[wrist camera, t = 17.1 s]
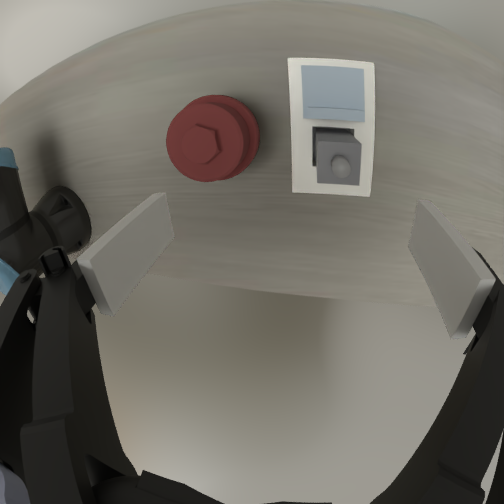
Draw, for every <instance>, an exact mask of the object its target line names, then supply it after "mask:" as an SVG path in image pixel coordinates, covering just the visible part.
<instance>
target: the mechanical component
mask: <svg viewBox="0 0 504 504" xmlns="http://www.w3.org/2000/svg"><path fill="white" fill-rule="evenodd" d="M259 142H260V133H259V127H258V123H257V121H256V119H255V117H254V115H253V114H252V112H251V111H250V110H249V109H248V107H247V106H245V105H244V104H243V103H242V102H240V101H238V100H237V99H234V98H232V97H229V96H224V95H209V96H204V97H200V98H198V99H196V100H194V101H192V102H191V103H189V104H188V105H187V106H186V107H185V108H184V109H183V110H182V111H181V112H179V113H178V114H177V115H176V116H175V118H174V119H173V120H172V122H171V124H170V126H169V128H168V132H167V138H166V145H167V151H168V154H169V157H170V159H171V161H172V163H173V164H174V166H175V167H176V168H177V169H178V170H179V171H180V172H181V173H182V174H183V175H185V176H187V177H188V178H190V179H193V180H196V181H200V182H212V181H216V180H225V179H229V178H232V177H234V176H236V175H238V174H239V173H241V172H242V171H243V170H244V169H246V168H247V166H248V165H249V164H250V163H251V162H252V160H253V159H254V157H255V155H256V153H257V150H258V148H259Z"/></svg>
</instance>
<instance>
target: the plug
mask: <svg viewBox="0 0 504 504" xmlns="http://www.w3.org/2000/svg"><path fill="white" fill-rule="evenodd" d="M315 131H316V171H317V183H323V184H341V185H355V186H359V182H360V168H361V149H362V144H361V143H360V142H359V141H358V140H357V139H356V138H355V137H354V136H353V135H352V134H350V133H349V132H348V131H347V130H346V129H334V128H315Z"/></svg>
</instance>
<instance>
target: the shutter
mask: <svg viewBox="0 0 504 504" xmlns="http://www.w3.org/2000/svg"><path fill="white" fill-rule="evenodd" d="M301 74H302V95H303V118H305V119H331V120H346V121H358V122H365V101H364V69H359V68H349V67H336V66H314V65H301Z"/></svg>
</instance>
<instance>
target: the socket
mask: <svg viewBox="0 0 504 504" xmlns="http://www.w3.org/2000/svg"><path fill="white" fill-rule="evenodd" d="M301 65H314V66H336V67H349V68H359V69H364V101H365V122H358V121H346V120H331V119H305V118H303V95H302V74H301ZM288 72H289V91H290V113H291V144H292V192H293V193H318V194H336V195H352V196H365V197H370V192H371V181H372V169H373V155H374V134H375V74H374V63H370V62H362V61H353V60H341V59H324V58H288ZM315 128H334V129H346V130H347V131H348V132H349V133H350V134H352V135H353V136H354V137H355V138H356V139H357V140H358V141H359V142H360V143H361V144H362V149H361V168H360V182H359V186H355V185H341V184H323V183H317V171H316V131H315Z"/></svg>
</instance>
